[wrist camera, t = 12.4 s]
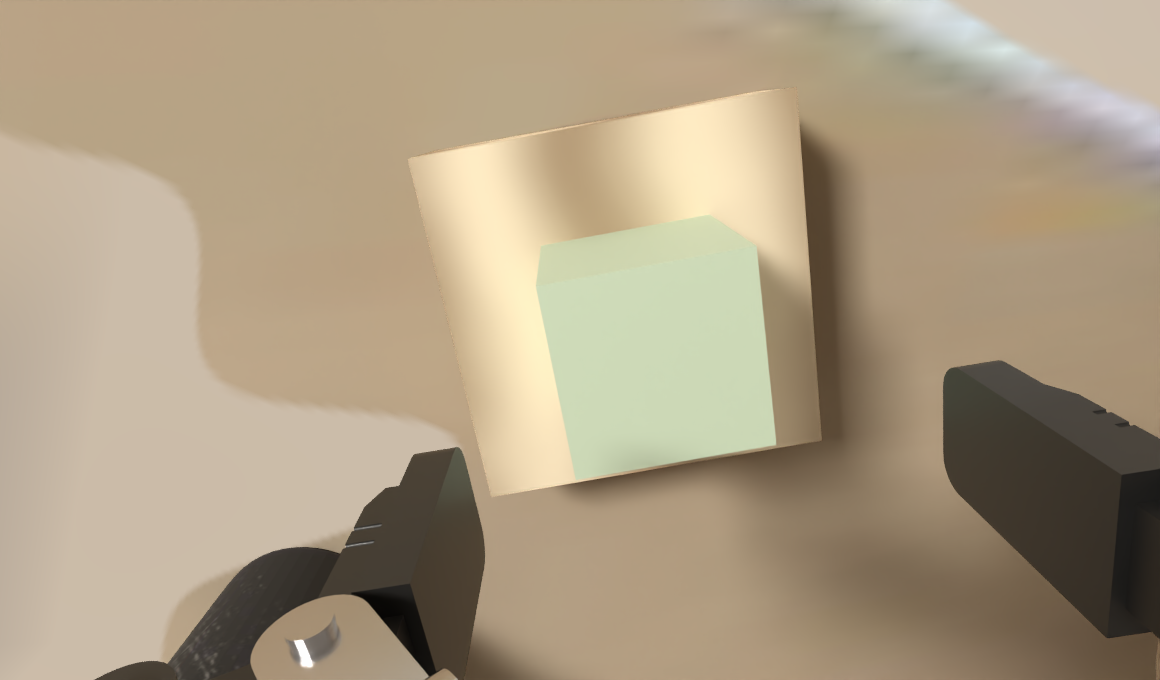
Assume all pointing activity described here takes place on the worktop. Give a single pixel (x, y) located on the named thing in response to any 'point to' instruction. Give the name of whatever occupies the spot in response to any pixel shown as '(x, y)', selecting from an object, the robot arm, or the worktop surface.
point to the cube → (657, 345)
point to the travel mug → (251, 610)
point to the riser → (599, 206)
